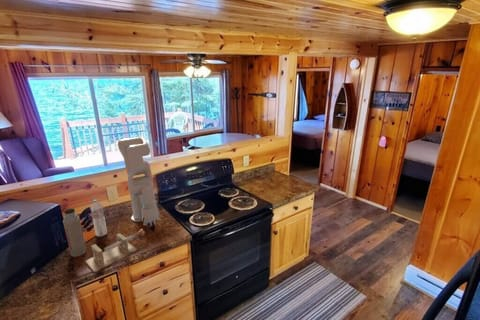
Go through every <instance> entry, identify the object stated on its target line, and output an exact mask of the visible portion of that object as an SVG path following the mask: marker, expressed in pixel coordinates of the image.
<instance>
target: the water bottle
mask: <svg viewBox="0 0 480 320" xmlns="http://www.w3.org/2000/svg"><path fill="white" fill-rule="evenodd" d="M90 212H91V217H92V223H93V229H94V233H95V236H96V237H99V238H101V237H104V236H106V235H107V234H108V230H107V223H106V222H107V221H106V217H105V214H104V209H103V204H102V203H101V202H99V201H98V199H93V203H92V204H91V205H90Z"/></svg>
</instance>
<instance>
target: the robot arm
mask: <svg viewBox="0 0 480 320" xmlns="http://www.w3.org/2000/svg"><path fill="white" fill-rule="evenodd" d="M117 147H118V150H119V152H120V154H121V156H122V158H123V161H124V165H125V169H126V173H127V175H128V176H127V183H126V184H127V189H128V193H129V197H130V203H131V211H132V215H131V217H130V220H131V221H133V222H138V223H140V222H143V226H149V230H150V231H151V232H154V231H156V223H157V221H159V220H160V211H159V208H158V205H157V203H158V200H156V197H155V188H154V179H153V174H152V171H151V170H152V168H151V165H150V164H149V162H148V161H147V160H144V157H147V156H150V155H151V149H150V148H151V147H150V145H149V143H148V142H147V141H146V139H145V138H144V137H142V136H137V137H126V138H122V139H119V140H118V141H117ZM140 175H141V176H140ZM134 176H136V177H134Z"/></svg>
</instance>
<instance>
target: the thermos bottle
mask: <svg viewBox="0 0 480 320" xmlns="http://www.w3.org/2000/svg"><path fill="white" fill-rule="evenodd" d="M62 223H63V227H64V228H63V229H64V232H65V236H66V239H67V243H68V244H67V245H68V249H69V252H70V256H71V257H75V258H76V257H80V256H83V255H84V254H85V253H86V252H87V247H86V242H85V239H84V233H83V228H82V224H81V218H80V216H79V215H78V213H76V211H75V208H68V209H66V210H64V216H63V220H62Z"/></svg>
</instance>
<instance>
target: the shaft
mask: <svg viewBox="0 0 480 320" xmlns="http://www.w3.org/2000/svg"><path fill="white" fill-rule="evenodd" d="M145 235H146V231H145V230H144V228H140V229H139V230H138V231H137V232H135V233H134V234H131V235H129V236H126V238H127V242H128V243H129V242H130V241H131V240H134V239H136V238H138V237H139V236H141V237H144V236H145ZM121 244H122V241H118V242H117V241H116V242H115V243H112V244H110V245H108V246H106V247H103V250H104V252H107V251H109V250H111V249H113V248H115V247H117V246H119V245H121Z"/></svg>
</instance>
